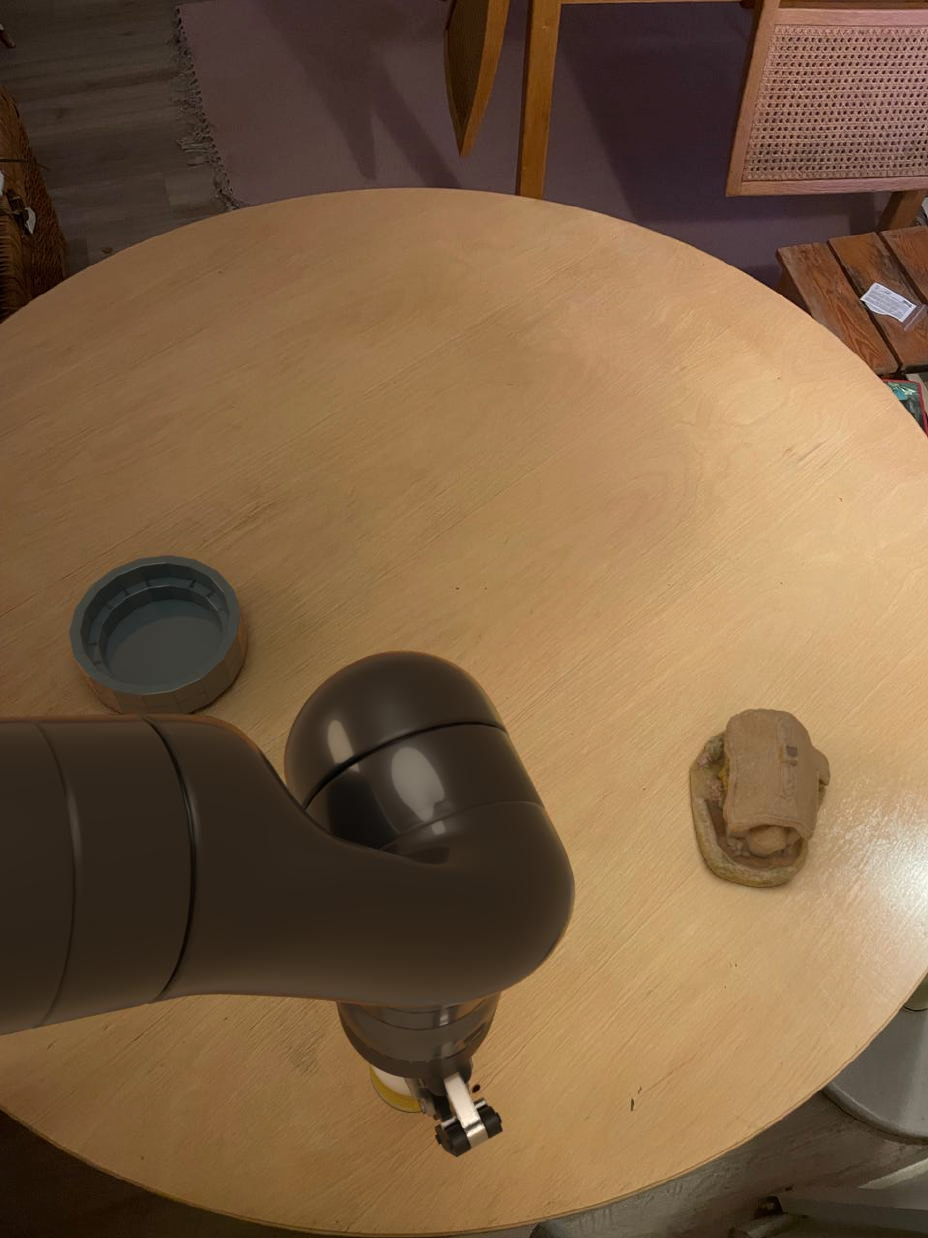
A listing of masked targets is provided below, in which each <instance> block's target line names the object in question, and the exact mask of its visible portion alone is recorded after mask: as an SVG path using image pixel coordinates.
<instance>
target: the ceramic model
mask: <svg viewBox="0 0 928 1238" xmlns="http://www.w3.org/2000/svg"><path fill="white" fill-rule="evenodd" d="M689 769H690V770H689V771H690V774H689V775H690V790H691V791H690V792H691V807H692V813H693V820H694V826H695V832H696V837H697V839H698V844H699V849H700V851H701V853H702V855H703V857H704V859H705V862H706V863H707V865H708V867H709V868H710V870H711V871H712V872H713V873H715V875H717V876H718V877H720V878H722V879H725V880H727V881H731V882H734V883H736V884H741V885H745V886H748V887H749V886H750V887H756V888H764V887H773V886H778V885H782V884H784V883H786V882H788V881H790V880H791V879H792V880H793V879H795V876H796V875H797V873H798V872H800V870H801V869H802V867H804V865H805V863H806V861H807V858H808V855H809V851H810V849H809V848H810V846H809V845H810V840H811V839H812V837H813V836H814V833H815V829H816V827H817V822H818V821H817V820H818V819H817V818H818V813H819V810H820V807H821V805H822V804H823V802H824V797H825V795H826V792H827V789H826V787H828V786H829V785H830V780H831V777H832V776H831V769H830V762H829V759H828V758H827V756H826V754H824V753H823V752H822V751H821V750H819V749H817V748H816V747H815V746H814V745H813V743H812V740H811V737H810V734H809V731H808V729H807V728H806V727H805V725H804V724H803V723H801V721H800V720H799V719H798V718H797V717H796V716H795V715H794V714H792V713H791V712H788V711H785V710H779V709H773V708H769V709H768V708H757V709H755V708H748V709H745V710H742V711H740V712H739V713H736V714H734V715H733V716H730V717H729V719H728V721H727V723H726V726H725V729H724V730H723V731H721V732H719V733H718V734H715V735H712V736H711V737H709V739H708V740H707V741H706V742H705V743H704V746H703V748H702V750H701V751H700V752H699V754H698V755H697V757H696V758H695V759H694V761H693V762H692V764H691V766H690V768H689Z"/></svg>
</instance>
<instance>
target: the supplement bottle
mask: <svg viewBox="0 0 928 1238" xmlns="http://www.w3.org/2000/svg"><path fill="white" fill-rule="evenodd" d="M368 1071H369V1077H370V1080H371V1084H372V1086H373V1089H374V1091H375V1093H376V1094H377V1096H378V1097H379V1098H380V1100H382V1102H383V1103H384V1104H386V1105H387V1106H388V1107H390V1108H391V1109H393V1110H395V1111H397V1112H400V1113H404V1114H410V1115H411V1114H412V1115H413V1114H415V1115H416V1114H423V1113H422V1110H421V1108H420V1106H419V1104H418V1100H415V1099H413V1097H412V1095H411V1093H410V1091H409V1089H408V1086H407V1084H406V1082H405V1080H404V1078H403V1077H398V1076H394V1075H391V1074H388V1073H386V1072H384V1071H381V1070H379V1069H378V1068H376V1067H374V1066H373V1065H371V1064H370V1063H369V1062H368Z"/></svg>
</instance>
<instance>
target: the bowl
mask: <svg viewBox="0 0 928 1238" xmlns="http://www.w3.org/2000/svg"><path fill="white" fill-rule="evenodd" d="M237 598H238V597H237V595H236V591H235V589H234V588H233V587H232V586H231V584H230V583H229V582H228V581H227V579H226V578H225V577H224V576H223V574H221V573H220V571H218V570H217V569H215V568H213V567H211V566H209V565H207V564H205V563H203V562H201V561H199V560H197V559H195V558H190V557H183V556H177V555H170V554H166V555H165V554H164V555H157V556H149V557H140V558H136V559H135V560H132V561H130V562H127V563H125V564H122V565H119V566H117V567H114V568H113V569H111V570H109V571H108V572H107V573H106V574H104V575H103V576H102V577H100V578H99V579H98V580H97V581H95V582H94V583H92V584H91V585H90V586H89V588H87V590H86V592H85V593H84V595H83V597H82V598H81V599H80V601H79V602H78V604H77V605H76V607H75V608H74V611H73V614H72V619H71V623H70V627H69V630H68V631H69V632H68V636H69V640H70V641H69V642H70V645H71V650H72V656H73V659H74V661H75V662H76V664H77V666H78V668H79V670H80V672H81V673H82V675H83V677H84V679H85V681H86V683H87V685H88V686H89V687H90V688H91V690H92V692H93V693H94V694H95V695H96V697H97V698H98V699H99V700H100V702H102V704H105V705H107V706H108V707H109V708H112V709H113V710H115V711H117V712H118V713H119V714H148V713H183V714H191V713H192V712H194V711H196V710H198V709H201V708H202V707H203V708H204V707H205V706H207V705H209V704H211V703H212V702H213V701H214V700H216V699H217V698H218V697H219V696H220V695H221V694H222V693H223V692H225V691H226V690H227V689H228V688H229V687H230V686H231V685H232V684H233V682H234V680H235V678H236V676H237V675H238V673H239V672H240V669H241V668H242V666H243V664H244V662H245V656H246V648H247V641H248V635H247V631H246V627H245V623H244V620H243V615H242V612H241V609H240V605H239V601H238V599H237Z"/></svg>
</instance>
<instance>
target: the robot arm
mask: <svg viewBox="0 0 928 1238" xmlns="http://www.w3.org/2000/svg"><path fill="white" fill-rule="evenodd" d="M519 754H520V753H519V752H518V751H517V748H516V746H515V744H514V742H513V740H512V738H511V737H510V733H509V731H508V728H507V727H506V725H505V723H504V721H503V719H502V717H501V715H500V712H499V711H498V709H497V707H496V705H495V704H494V701H493V700H492V699H491V697H490V695H489V694H488V692H487V691H486V690H485V688H484V687H483V686H482V685H481V684H480V682H479V681H478V680H477V679H476V678H475V677H474V676H473V675H472V674H471V673H470V672H469V671H467V670H465V669H464V668H463V667H461V666H459V665H458V664H456V663H454V662H453V661H451V660H449V659H446V658H445V657H442V656H438V655H435V654H431V653H428V652H423V651H417V650H403V649H401V650H389V651H384V652H379V653H375V654H370V655H366V656H365V657H363V658H360V659H358V660H355V661H353V662H351V663H349V664H347V665H345V666H344V667H342V668H340V669H339V670H337V671H336V672H334V673H333V674H331V675H330V676H329V677H328V678H326V679H325V680H324V681H323V682H322V683H321V684H320V685H319V686H318V687H316V689H315V690H314V691H313V692H312V693H311V695H310V696H309V697H308V698H307V699H306V701H305V702H304V703H303V705H302V707H300V710H299V711H298V713H297V714H296V717H295V718H294V720H293V723H292V725H291V726H290V730H289V732H288V736H287V739H286V743H285V747H284V754H283V775H284V780H285V781H283V779H282V778H281V776H280V775H279V773H278V772H277V770H276V768H275V767H274V765H273V764H272V763H271V762H270V760H269V759H268V757H267V756H266V754H265V753H264V752H263V750H262V749H261V748H260V746H258V744H256V742H255V741H253V740H252V738H250V737H249V736H248V735H247V734H246V733H245V732H244V731H243V730H242V729H240V728H239V727H237V726H236V725H234V724H233V723H230V722H228V721H226V720H223V719H222V718H217V717H214V716H210V715H204V714H195V713H194V714H192V713H187V714H183V713H148V714H122V713H114V714H108V713H107V714H69V715H67V714H65V715H63V714H62V715H61V714H59V715H24V716H19V715H14V716H0V1037H1V1036H6V1035H11V1034H14V1033H19V1032H24V1031H27V1030H35V1029H39V1028H44V1027H47V1026H52V1025H58V1024H62V1023H66V1022H67V1023H68V1022H71V1021H76V1020H80V1019H81V1020H82V1019H85V1018H90V1017H95V1016H100V1015H105V1014H109V1013H113V1012H114V1013H115V1012H119V1011H123V1010H127V1009H133V1008H139V1007H141V1006H145V1005H151V1004H157V1003H161V1002H166V1001H169V1000H175V999H179V998H184V997H185V998H186V997H192V996H193V997H195V996H215V995H216V996H217V995H219V996H220V995H223V996H225V995H226V996H251V997H253V996H254V997H255V996H256V997H274V998H275V997H277V998H278V997H279V998H295V999H304V1000H305V999H307V1000H317V1001H318V1000H319V1001H328V1002H335V1004H336V1008H337V1013H338V1017H339V1022H340V1024H341V1027H342V1029H343V1032H344V1034H345V1036H346V1038H347V1039H348V1041H349V1043H350V1044H351V1046H352V1047H353V1049H354V1050H355V1051H356V1052H357V1054H358V1055H359V1056H361V1057H362V1058H363V1060H365V1061H366V1062H367V1063H368V1064H369V1063H370V1064H371V1065H373V1066H374V1067H376V1068H378V1069H379V1070H381V1071H384V1072H386V1073H388V1074H391V1075H394V1076H398V1077H403V1078H404V1080H405V1082H406V1084H407V1086H408V1089H409V1091H410V1093H411V1095H412V1097H413V1099H415V1100H418V1104H419V1106H420V1108H421V1110H422V1113H421V1114H423V1115H426V1116H427V1117H428V1118H431V1117H432V1118H433V1120H434V1121H435V1122H438V1121H439V1124H437V1125H435V1126H434V1131H435V1133H436V1134H435V1135H434V1137H435V1140H436V1142H437V1145H438V1146H440V1145H441V1148H442V1149H443V1150H444V1151H445V1152H447V1153H448V1154H450V1155H451V1156H453V1157H456V1158H459V1157H460V1156H462V1155H464V1154H466V1153H467V1152H469V1151H471V1150H473V1149H475V1148H477V1147H478V1146H480V1145H482V1144H483V1143H485V1142H487V1141H489V1140H490V1139H492V1138H494V1137H495V1136H498V1135H500V1134H501V1133H503V1132H504V1129H503V1126H502V1123H503V1120H502V1118H501V1115H500V1113H499V1112H498V1111H495V1109H494V1108H493V1106H491V1105H489V1104H488V1101H487V1099H486V1098H485V1097H484V1096H482V1097H479V1098H478V1099H476V1100H475V1101H474V1100H473V1099H472V1097H471V1091H470V1087H471V1086H470V1083H469V1082H470V1081H471V1078H472V1076H473V1069H474V1063H473V1058H472V1057H473V1056H474V1055H475V1054H476V1052H477V1051H478V1050H479V1048H480V1047H481V1045H482V1044H483V1043H484V1042H485V1039H486V1038H487V1036H488V1034H489V1031H490V1030H491V1028H492V1025H493V1021H494V1018H495V1015H496V1012H497V1009H498V1005H499V1002H500V998H501V996H502V992H505V991H506V990H509V989H511V988H513V987H514V986H516V985H518V984H520V983H521V982H522V981H524V980H526V979H527V978H529V977H531V975H533V974H534V973H535V972H536V971H537V970H539V969H540V968H541V967H542V966H543V965H544V964H545V963H546V962H547V961H548V960H549V959H550V958H551V956H552V955H553V954H554V952H555V951H556V949H557V948H558V946H559V945H560V943H561V942H562V940H563V939H564V937H565V935H566V933H567V930H568V928H569V925H570V923H571V920H572V917H573V913H574V909H575V908H574V907H575V902H576V881H575V875H574V871H573V868H572V865H571V861H570V857H569V855H568V852H567V851H566V848H565V846H564V844H563V842H562V839H561V836H560V835H559V834H558V831H557V829H556V826H555V825H554V822H553V820H552V819H551V817H550V815H549V813H548V811H547V810H546V806H545V804H544V802H543V801H542V799H541V796H540V794H539V793H538V790H537V789H536V787H535V785H534V782H533V780H532V779H531V777H530V774H529V772H528V771H527V768H526V767H525V765H524V762H523V760H522V759H521V756H520V755H519ZM284 782H285V783H284Z"/></svg>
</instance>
